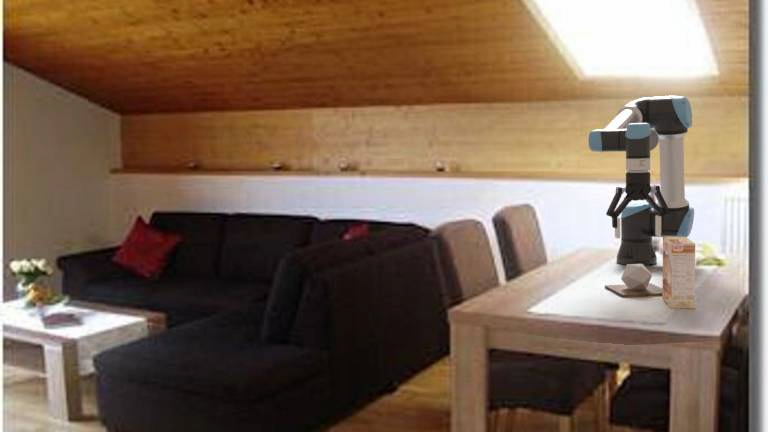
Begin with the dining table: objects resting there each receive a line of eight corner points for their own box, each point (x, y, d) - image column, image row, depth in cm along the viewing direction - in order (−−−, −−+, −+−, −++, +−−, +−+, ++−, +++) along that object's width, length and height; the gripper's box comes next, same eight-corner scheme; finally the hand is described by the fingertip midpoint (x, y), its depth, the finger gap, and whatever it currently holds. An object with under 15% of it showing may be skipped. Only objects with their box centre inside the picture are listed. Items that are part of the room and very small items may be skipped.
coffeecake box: (661, 297, 253) (662, 236, 250) (685, 298, 251) (686, 236, 249) (669, 308, 238) (670, 243, 236) (695, 308, 237) (696, 242, 235)
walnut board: (651, 285, 272) (651, 283, 272) (671, 295, 256) (671, 292, 256) (604, 287, 270) (604, 285, 270) (622, 297, 255) (622, 294, 254)
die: (647, 294, 257) (659, 267, 259) (622, 281, 258) (634, 254, 260) (637, 298, 265) (649, 272, 268) (613, 285, 266) (625, 259, 268)
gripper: (604, 173, 254) (604, 240, 257) (680, 170, 256) (680, 236, 259) (596, 172, 262) (596, 236, 264) (670, 169, 264) (670, 233, 266)
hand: (637, 236), depth 261 cm, fingers open, 13 cm apart
